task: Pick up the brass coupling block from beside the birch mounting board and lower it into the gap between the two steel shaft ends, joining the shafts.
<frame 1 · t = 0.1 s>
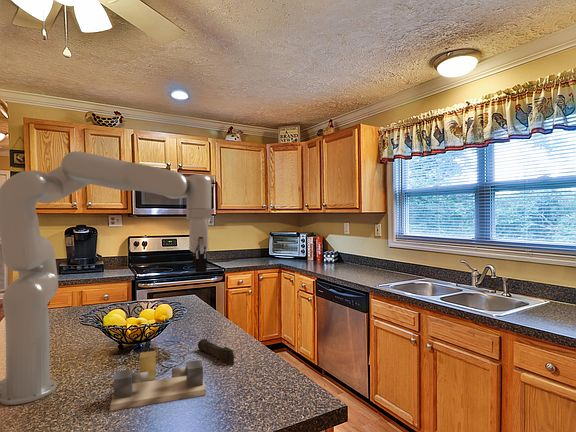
hand: (199, 269, 110), 31 cm above the table, tool pointing down, fingers open, 9 cm apart
shaft mount: (160, 393, 95), on the table
coupler: (147, 377, 104), on the table
hand tool: (218, 357, 120), on the table
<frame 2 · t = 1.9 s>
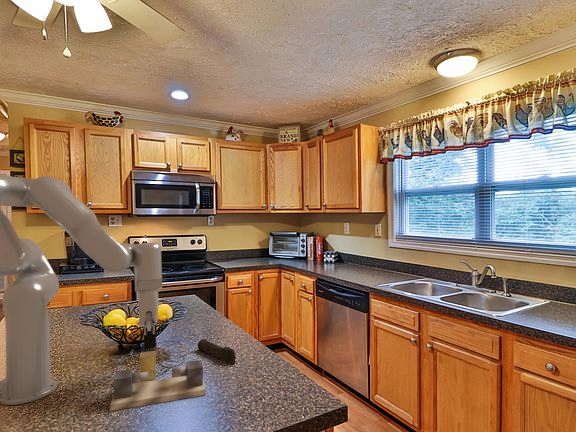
hand: (150, 342, 104), 10 cm above the table, tool pointing down, fingers open, 9 cm apart
nothing on the table moved.
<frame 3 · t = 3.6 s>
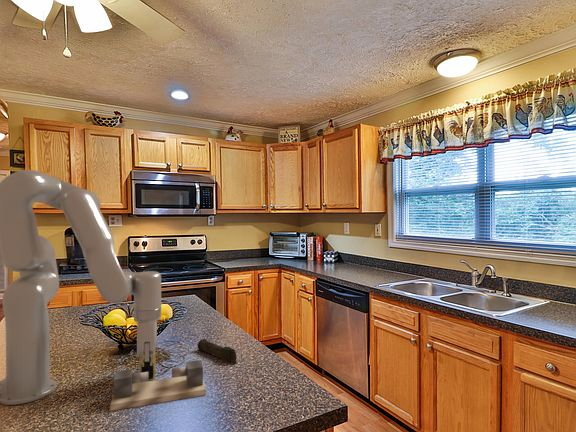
hand: (147, 374, 104), 1 cm above the table, tool pointing down, fingers closed on coupler, 4 cm apart
coupler: (147, 377, 104), on the table, touching gripper
everything else where it was.
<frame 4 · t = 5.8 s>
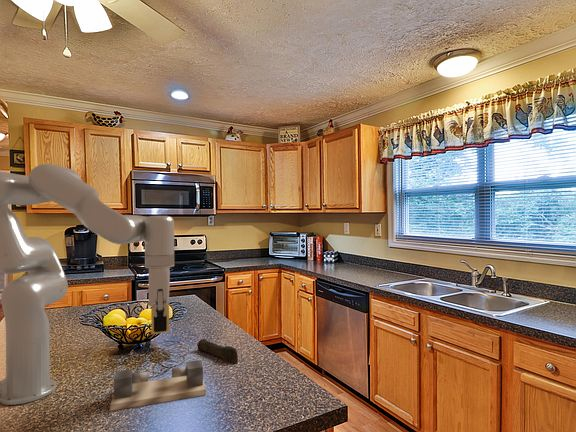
hand: (160, 327, 95), 17 cm above the table, tool pointing down, fingers closed on coupler, 4 cm apart
coupler: (160, 330, 95), point 17 cm above the table, touching gripper
everything else where it was.
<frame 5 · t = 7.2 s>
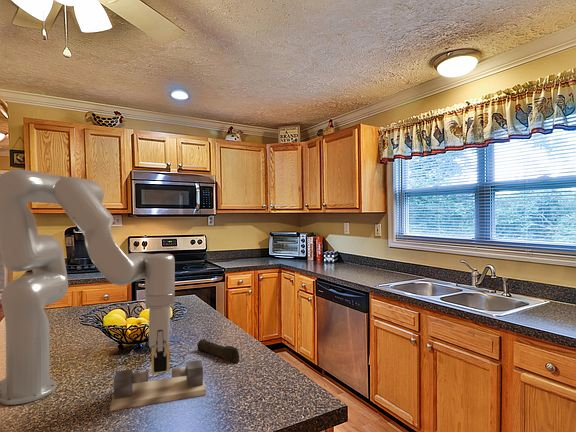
hand: (160, 366, 95), 7 cm above the table, tool pointing down, fingers closed on coupler, 4 cm apart
coupler: (160, 369, 95), point 6 cm above the table, touching gripper
when the fingers open (3 cm above the table, at t = 8.3 s): coupler stays where it is, resting on shaft mount.
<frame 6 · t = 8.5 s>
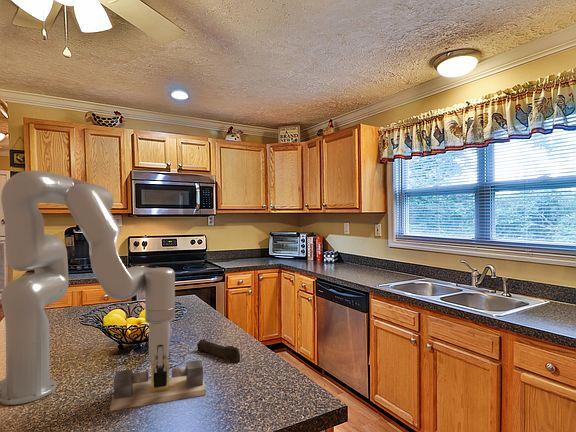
hand: (160, 380, 95), 4 cm above the table, tool pointing down, fingers open, 6 cm apart
coupler: (160, 387, 95), point 1 cm above the table, touching shaft mount
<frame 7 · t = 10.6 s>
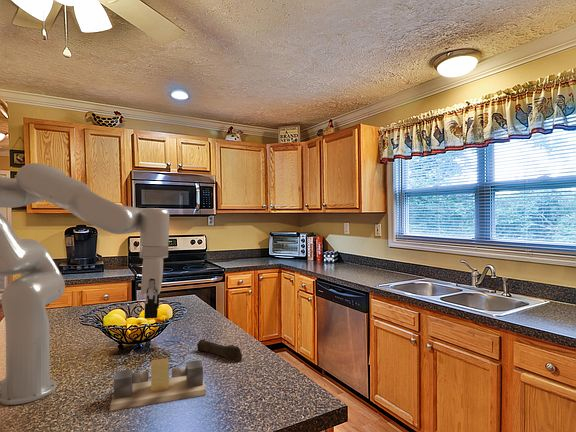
hand: (151, 313, 99), 21 cm above the table, tool pointing down, fingers open, 9 cm apart
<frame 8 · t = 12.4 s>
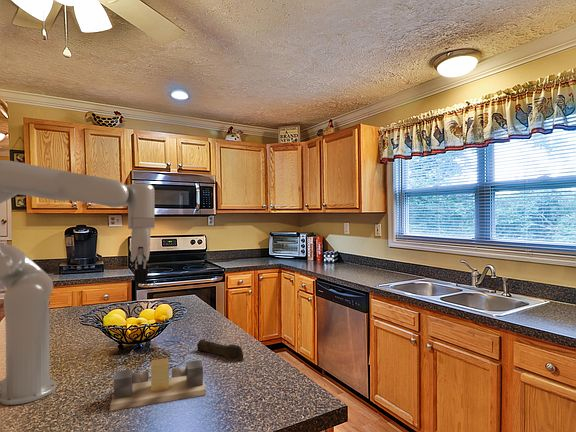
hand: (141, 279, 108), 28 cm above the table, tool pointing down, fingers open, 9 cm apart
at the end: coupler 0.0 cm off-centre on the shaft mount, point 1.5 cm above the shaft mount's base; coupler tilted 0°; the gripper is holding nothing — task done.
